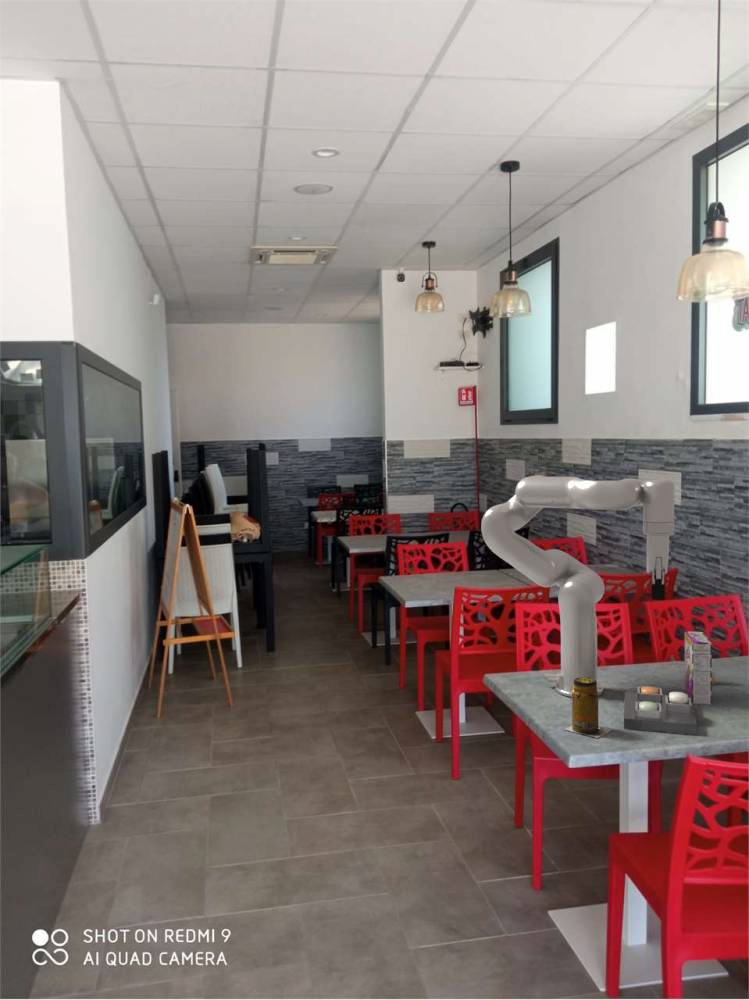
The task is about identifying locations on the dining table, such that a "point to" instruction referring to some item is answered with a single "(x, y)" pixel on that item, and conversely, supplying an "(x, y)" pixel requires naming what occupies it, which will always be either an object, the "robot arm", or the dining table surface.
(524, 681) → the dining table surface
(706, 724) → the dining table surface
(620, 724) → the dining table surface
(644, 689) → the terracotta button
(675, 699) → the cream button
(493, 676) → the dining table surface
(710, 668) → the candy bar box
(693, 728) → the button panel
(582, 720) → the condiment
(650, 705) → the sage button
